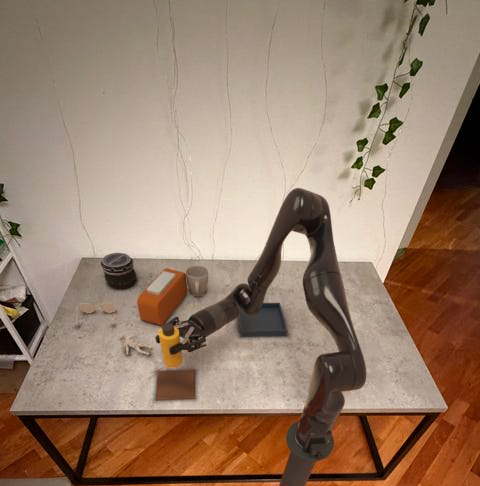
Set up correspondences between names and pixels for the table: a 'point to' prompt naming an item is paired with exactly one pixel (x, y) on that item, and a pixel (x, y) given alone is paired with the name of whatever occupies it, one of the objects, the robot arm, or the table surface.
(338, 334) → the robot arm
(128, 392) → the table surface
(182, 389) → the board
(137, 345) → the soldier figure
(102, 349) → the table surface
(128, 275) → the container
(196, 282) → the mug
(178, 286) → the orange box
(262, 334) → the tray
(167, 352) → the yellow bottle
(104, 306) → the sunglasses
